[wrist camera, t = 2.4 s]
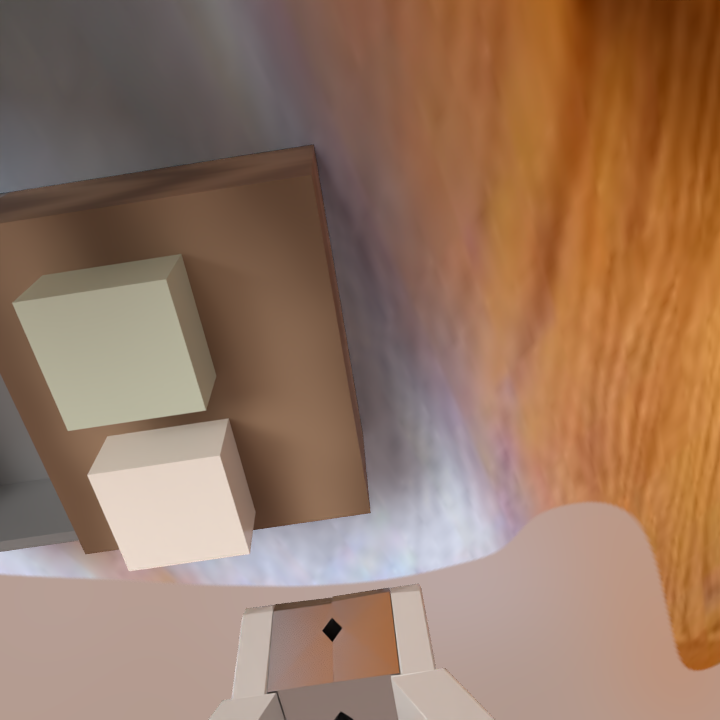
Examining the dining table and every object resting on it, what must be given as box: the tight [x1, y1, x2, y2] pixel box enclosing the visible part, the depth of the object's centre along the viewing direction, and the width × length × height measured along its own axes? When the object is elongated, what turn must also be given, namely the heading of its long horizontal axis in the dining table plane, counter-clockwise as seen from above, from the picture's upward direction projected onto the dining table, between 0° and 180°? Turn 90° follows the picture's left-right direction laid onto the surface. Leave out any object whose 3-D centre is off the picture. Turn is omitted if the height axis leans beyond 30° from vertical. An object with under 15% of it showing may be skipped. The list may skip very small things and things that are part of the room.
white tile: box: [87, 418, 255, 571], centre depth 26 cm, size 5×5×2 cm
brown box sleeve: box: [0, 145, 371, 554], centre depth 28 cm, size 13×15×6 cm
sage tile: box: [12, 254, 216, 431], centre depth 22 cm, size 5×5×2 cm
